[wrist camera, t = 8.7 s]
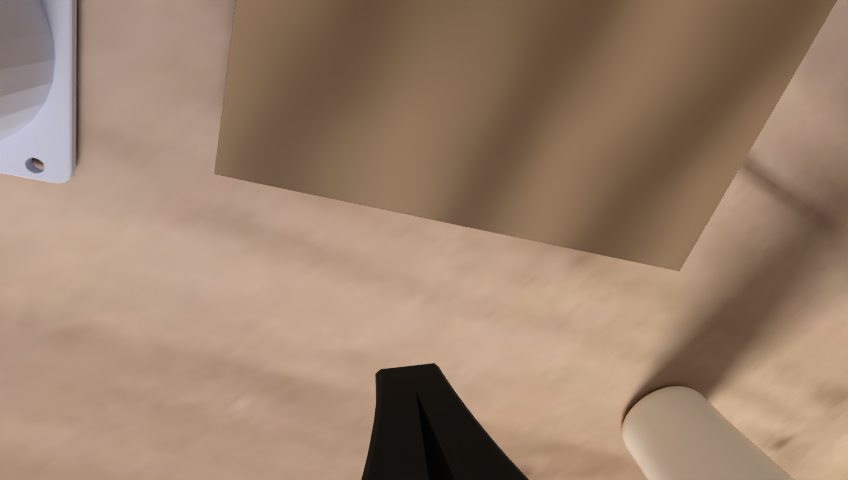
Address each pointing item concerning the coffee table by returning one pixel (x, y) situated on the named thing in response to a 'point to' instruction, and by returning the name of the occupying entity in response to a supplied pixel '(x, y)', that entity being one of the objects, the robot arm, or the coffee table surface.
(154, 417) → the coffee table surface
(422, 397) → the robot arm
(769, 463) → the drinking glass
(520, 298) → the coffee table surface
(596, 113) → the seat board
